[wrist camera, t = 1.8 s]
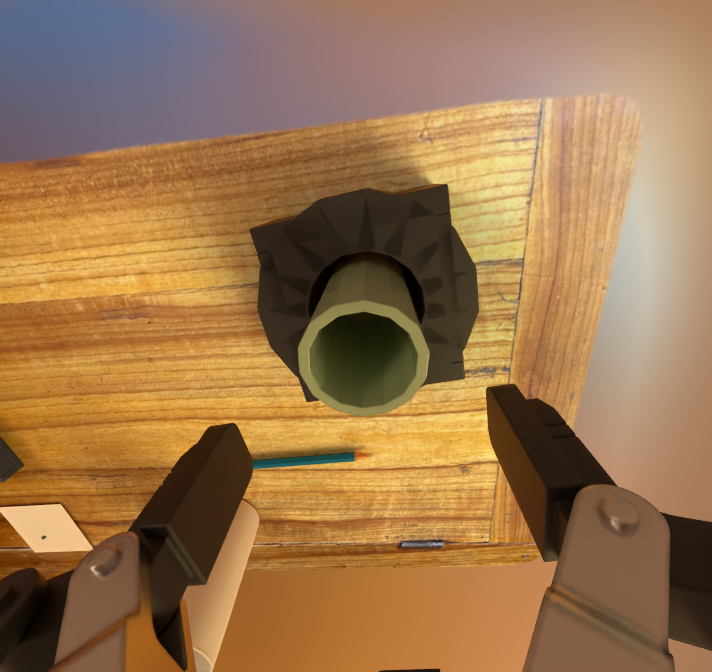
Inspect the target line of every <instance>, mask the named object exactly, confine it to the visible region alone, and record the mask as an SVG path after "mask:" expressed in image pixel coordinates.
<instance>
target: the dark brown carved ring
mask: <svg viewBox="0 0 712 672" xmlns="http://www.w3.org/2000/svg"><path fill="white" fill-rule="evenodd" d="M250 233H251V236H252V239H253V242H254V245H255V248H256V251H257V253H258V254H257V255H258V258H259V261H260V264H261V267H260V274H259V291H258V313H259V316H260V319H261V321H262V324H263V327H264V330H265V333H266V335H267V338H268V341H269V344H270V346H271V348H272V349H273V350H274V351H275V353H276V354H277V355H278V356H279V357H280V358H281V360H282V361H283V362H284V363H285V364H286V365H287V366H288V368H289V369H290V370H291V371H292V372H293V373H294V374H295V375H296V376H297V377H298V378H299V381H300V384H301V386H302V389H303V392H304V395H305V398H306V401H307V402H312V401H319V399H317V398H316V397H315V396H314V395H313V394H312V393H311V391H310V390H309V388H308V386H307V385H306V383H305V381H304V380H303V378H302V376H301V375H300V372H299V359H298V346H299V343H300V341H301V339H302V337H303V335H304V333H305V331H306V329H307V326H308V324H309V322H310V320H311V318H312V316H313V314H314V311H315V309H316V307H317V305H318V303H319V301H320V299H321V295H320V291H319V287H320V280H321V272H322V270H323V269H324V268H326V267H327V266H328V265H330V264H331V263H333V262H334V261H336V260H337V259H338V258H340V257H341V256H345V255H349V254H354V253H359V252H364V251H369V252H374V253H379V254H384V255H389V256H391V257H393V258H394V259H396V260H397V261H399V262H400V263H401V264H403V265H404V266H406V267H407V268H409V269H410V270H411V272H412V273H413V275H414V277H415V282H416V293H415V297H414V300H413V303H414V306H415V309H416V312H417V315H418V318H419V321H420V324H421V327H422V330H423V333H424V336H425V339H426V342H427V345H428V348H429V353H430V355H429V363H428V371H427V377H426V380H425V381H424V382H423V384H422V385H421V387H422V386H424V385H427V384H433V383H440V382H447V381H454V380H460V379H465V373H464V362H463V350H464V349H465V347H466V345H467V342H468V339H469V336H470V334H471V331H472V328H473V326H474V323H475V320H476V318H477V315H478V312H479V304H478V288H477V272H476V266H475V265H474V263H473V261H472V259H471V257H470V255H469V254H468V252H467V250H466V248H465V246H464V244H463V243H462V241H461V239H460V237H459V235H458V233H457V231H456V230H455V228H454V227H453V226H452V225H451V213H450V203H449V192H448V185H447V184H432V185H427V186H423V187H418V188H414V189H410V190H405V191H401V192H397V193H390V192H385V191H380V190H375V189H370V188H368V189H367V188H365V189H361V190H357V191H353V192H348V193H344V194H340V195H335V196H331V197H327V198H324V199H320V200H318V201H316V202H315V203H313V204H312V205H311V206H309V207H308V208H307V209H306V210H304V211H303V212H302V213H300V214H299V215H296V216H292V217H287V218H283V219H278V220H274V221H271V222H268V223H265V224H262V225H260V226H257V227H254V228H251V229H250Z"/></svg>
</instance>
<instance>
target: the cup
mask: <svg viewBox="0 0 712 672" xmlns="http://www.w3.org/2000/svg"><path fill="white" fill-rule="evenodd" d="M429 355H430V353H429V348H428V345H427V342H426V339H425V336H424V333H423V330H422V327H421V324H420V321H419V318H418V315H417V312H416V309H415V306H414V303H413V300H412V297H411V294H410V291H409V288H408V285H407V282H406V280H405V278H404V275H403V272H402V270H401V268H400V267H399V266H398V265H397V263H396V262H395V261H394V260H392V259H391V258H390V257H388V256H386V255H384V254H379V253H374V252H369V251H364V252H359V253H354V254H351V255H349V256H347V257H346V258H344V259H343V260H342V261H341V262H340V263H339V264H338V265H337V266H336V267H335V269H334V271H333V273H332V275H331V277H330V279H329V282H328V284H327V286H326V288H325V290H324V292H323V294H322V297H321V299H320V301H319V303H318V305H317V307H316V309H315V311H314V314H313V316H312V318H311V320H310V322H309V324H308V326H307V329H306V331H305V333H304V335H303V337H302V339H301V341H300V343H299V346H298V359H299V372H300V375H301V376H302V378H303V380H304V381H305V383H306V385H307V386H308V388H309V390H310V391H311V393H312V394H313V395H314V396H315V397H316V398H317V399H319V400H320V401H322V402H323V403H325V404H326V405H328V406H329V407H331V408H332V409H334V410H336V411H339V412H344V413H348V414H353V415H357V416H368V415H376V414H383V413H388V412H390V411H392V410H394V409H396V408H397V407H399V406H401V405H403V404H404V403H406V402H408V401H410V400H411V399H412V398H413V397H414V395H415V394H416V392H417V391H418V389H419V388H420V387H421V385H422V384H423V382H424V381H425V380H426V377H427V371H428V363H429Z"/></svg>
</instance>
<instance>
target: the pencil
mask: <svg viewBox="0 0 712 672" xmlns="http://www.w3.org/2000/svg"><path fill="white" fill-rule="evenodd" d="M371 456H373V455H371V454H364V453H356V452H352V453H340V454H327V455H314V456H302V457H289V458H277V459H264V460H252V462H253V469H259V468H272V467H285V466H298V465H311V464H324V463H337V462H351V461H357V460H361V459H364V458H367V457H371Z"/></svg>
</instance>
